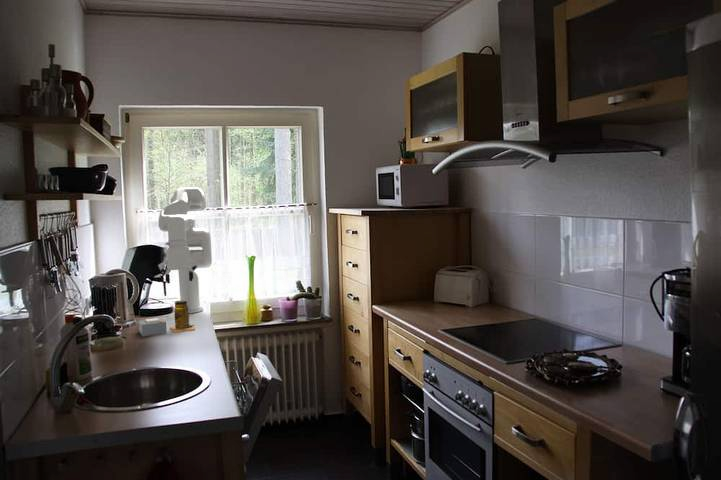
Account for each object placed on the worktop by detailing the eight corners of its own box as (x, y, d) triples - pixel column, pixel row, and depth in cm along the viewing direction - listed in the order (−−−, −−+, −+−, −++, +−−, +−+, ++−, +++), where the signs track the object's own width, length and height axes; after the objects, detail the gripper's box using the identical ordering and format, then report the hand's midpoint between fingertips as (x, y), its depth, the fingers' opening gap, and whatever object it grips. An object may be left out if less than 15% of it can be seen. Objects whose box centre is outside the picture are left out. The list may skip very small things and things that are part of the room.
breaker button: (145, 328, 265) (145, 319, 265) (157, 326, 267) (157, 317, 267) (147, 330, 260) (146, 321, 260) (159, 328, 263) (158, 319, 262)
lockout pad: (169, 327, 272) (169, 326, 272) (189, 325, 276) (189, 324, 276) (174, 332, 262) (174, 331, 262) (194, 329, 266) (194, 328, 266)
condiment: (171, 329, 267) (169, 302, 266) (182, 324, 275) (180, 299, 274) (185, 329, 264) (183, 302, 263) (196, 325, 273) (194, 299, 272)
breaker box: (139, 331, 266) (138, 319, 266) (162, 328, 271) (162, 316, 270) (142, 336, 257) (141, 323, 257) (166, 333, 262) (165, 320, 261)
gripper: (158, 245, 259) (160, 285, 260) (199, 243, 267) (201, 281, 268) (155, 244, 265) (158, 282, 267) (195, 241, 273) (197, 278, 275)
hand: (179, 281), depth 268 cm, fingers open, 9 cm apart
